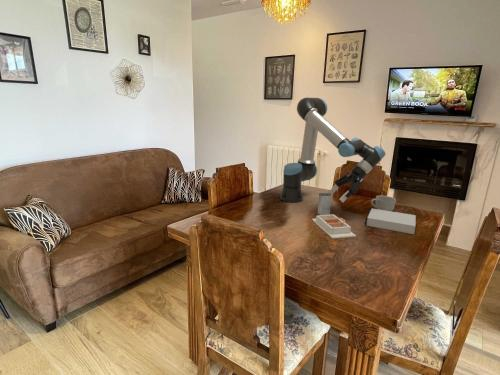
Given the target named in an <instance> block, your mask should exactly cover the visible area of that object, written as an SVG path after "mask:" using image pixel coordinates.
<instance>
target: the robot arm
mask: <svg viewBox="0 0 500 375" xmlns="http://www.w3.org/2000/svg"><path fill="white" fill-rule="evenodd" d="M327 111H328V104H327V102H326V101H325V100H324V99H323V98H321V97H304V98H302V99H300V100H299V102H298V103H297V105H296V112H297V114H298V115H299V117H300V118H301V119H302V120H303V121H304V122H305V126H304V133H303V140H302V145H301V146H302V147H301V152H300V153H301V154H300V158H299V159H297V162H289V163H287V164H285V165H284V167H283V182H282V189H281V192H280V195H279V199H280V200H281V201H282V200H283V202H286V201H287V203H300V202H302V201H304V194H303V191H302V182H305V181H310V180H312V179H314V178H315V177H316V176H317V174H318V173H317V172H318V167H317V165H316V161H315V152H316V146H317V140H318V133H320V134H321V135H322V136H323V137H324V138H326V140H328V141H329V142H330V143H331V144H332V145H333V146H334V147H335V148H336V149H337V152H338V154H339V156H340V157H343V158H350V157H353V156H357V155H358V156H359V157H361V158H362V159H361V160H360V162H358V163H357V164H356V165H355V166H354V168H353V169H352V170H351V173H350V172H347V173H346V174H344V175H343V176H341V177H339V178H338V179H336V180H334V185H332V187H331V188H330V189H329V191H327V193H330V194H331V196H332V195H333V194H334V193H336V192H337V190H338V189H339V188H340V187H341V186H343V185H345V184H349V183H350V185H349V189H348V190H347V191H346V192H345V193H343V195H342V196H341V197H340V198H339V201H341V203H344V202H345V201H346V200H347V199H348V198H350V197H351V196H352V195H353V194H354V195H356V194H357V193H358V191H359V189H360V187H361V186H362V183H363V182H364V178H366V176H367V174H369V173H370V172H371V171H372V169H374V168H375V167H376V166H377V165H378V164H379V163H380V162H381V161H382V160H383V158H384V157H385V156H386V151H385V150H384V149H383V148H382V147H381V146H379V145H376V146H374V147H372V146H370V145H369V144H368V143H366V142H365V141H363V140H362V139H360V138H358V137H354V138H352V139H351V140H350V139H349V138H347V137H346V136H345V135H344V134H343V133H342V132H341V131H340V130H339V129H338V128H336V127H335V126H334V125H333V124H332V123H331V122H329V121H328V120H327V119H326V118H325V117H324V116H325V115H326V114H327V113H328V112H327Z"/></svg>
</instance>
